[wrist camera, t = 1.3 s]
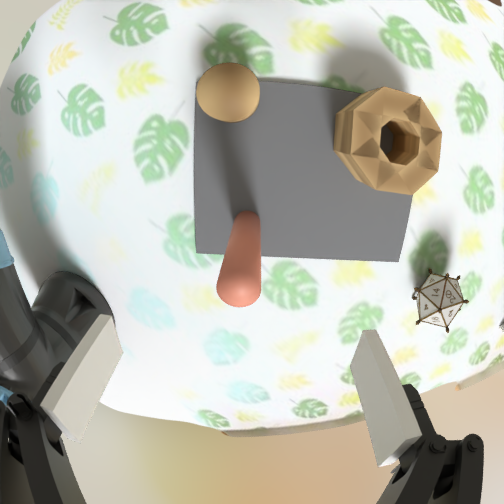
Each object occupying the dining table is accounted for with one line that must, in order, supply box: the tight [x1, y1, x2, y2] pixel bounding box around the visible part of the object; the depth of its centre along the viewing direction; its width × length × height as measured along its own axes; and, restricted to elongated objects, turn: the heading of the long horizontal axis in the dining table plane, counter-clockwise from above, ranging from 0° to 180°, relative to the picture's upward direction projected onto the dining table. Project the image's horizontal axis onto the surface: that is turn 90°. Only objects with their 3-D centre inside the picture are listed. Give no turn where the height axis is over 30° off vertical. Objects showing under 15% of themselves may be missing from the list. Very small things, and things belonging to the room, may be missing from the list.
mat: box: [194, 81, 413, 262], centre depth 29 cm, size 26×20×1 cm
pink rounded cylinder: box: [216, 211, 261, 307], centre depth 25 cm, size 3×3×14 cm
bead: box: [333, 87, 442, 195], centre depth 24 cm, size 10×10×6 cm
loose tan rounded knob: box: [196, 63, 260, 123], centre depth 23 cm, size 6×6×5 cm
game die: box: [412, 268, 469, 333], centre depth 31 cm, size 9×8×10 cm
